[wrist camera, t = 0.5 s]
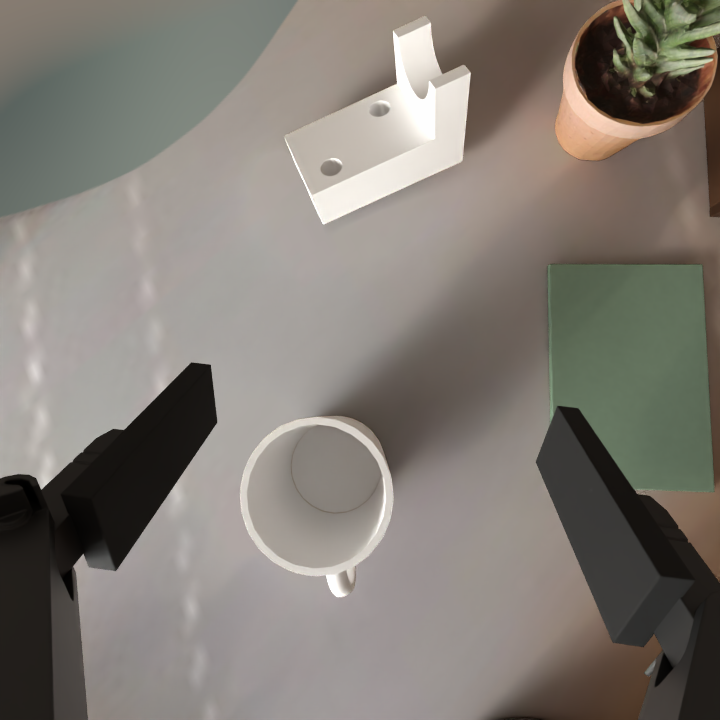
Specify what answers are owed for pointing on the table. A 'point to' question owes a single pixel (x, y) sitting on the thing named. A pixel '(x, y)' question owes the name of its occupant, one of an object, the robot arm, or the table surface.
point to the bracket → (386, 132)
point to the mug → (318, 497)
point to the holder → (713, 140)
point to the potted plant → (635, 73)
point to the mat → (636, 366)
